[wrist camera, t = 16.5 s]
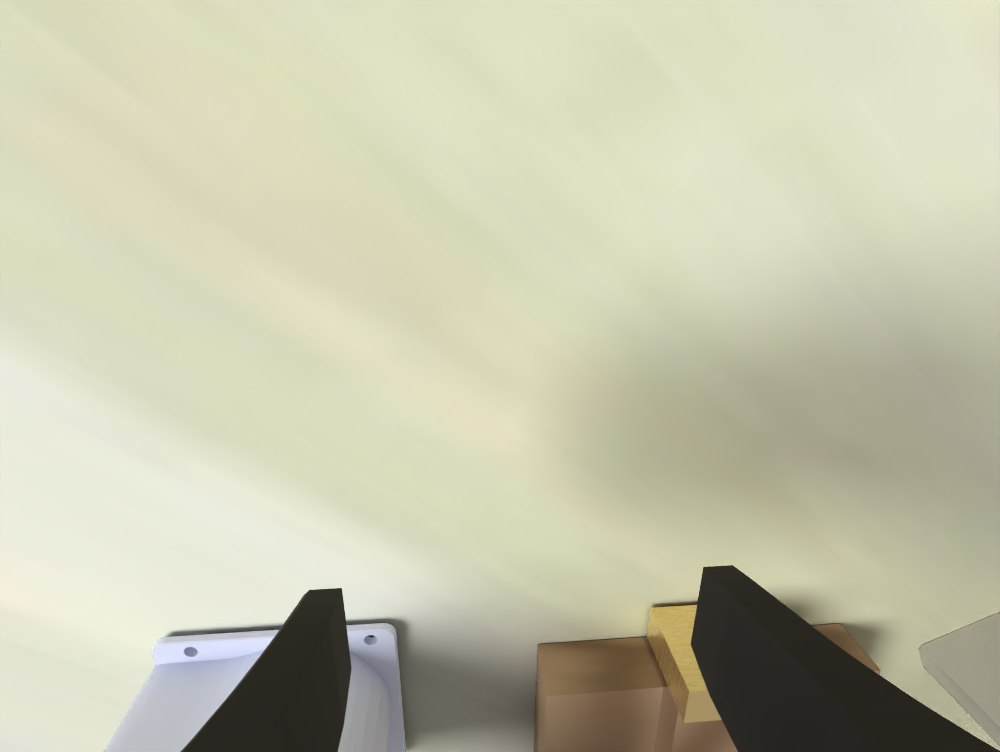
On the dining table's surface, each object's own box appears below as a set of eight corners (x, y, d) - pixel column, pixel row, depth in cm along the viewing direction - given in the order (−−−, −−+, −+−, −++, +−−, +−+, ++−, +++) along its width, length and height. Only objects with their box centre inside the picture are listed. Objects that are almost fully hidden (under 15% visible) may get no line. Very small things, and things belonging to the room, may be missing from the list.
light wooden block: (638, 700, 25) (671, 793, 21) (650, 607, 23) (689, 691, 19) (729, 693, 25) (777, 782, 22) (748, 601, 23) (805, 682, 20)
